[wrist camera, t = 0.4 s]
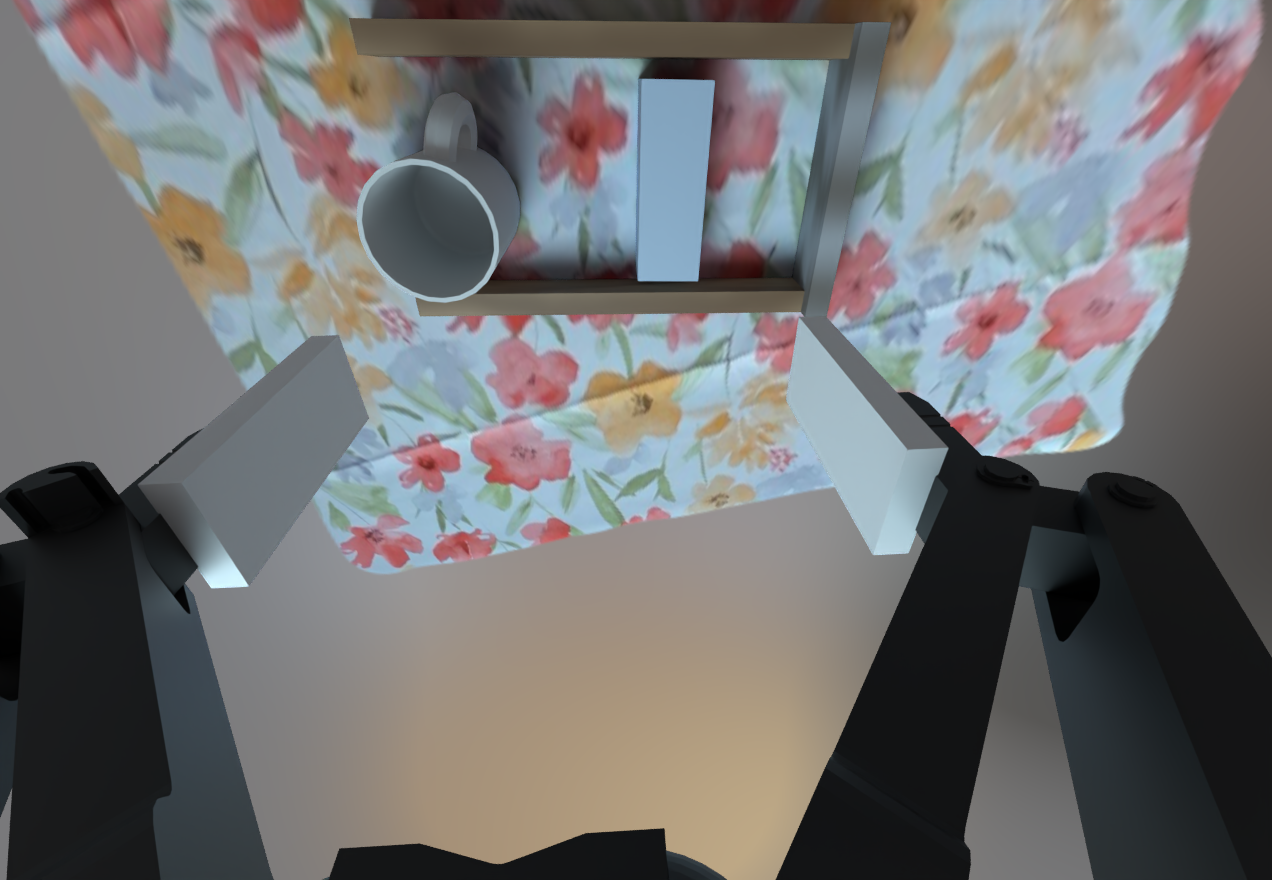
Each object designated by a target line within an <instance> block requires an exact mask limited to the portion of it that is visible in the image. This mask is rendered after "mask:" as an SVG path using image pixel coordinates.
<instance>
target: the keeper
mask: <svg viewBox="0 0 1272 880" xmlns="http://www.w3.org/2000/svg"><path fill="white" fill-rule="evenodd" d="M714 86H715V80H675V79H638V135H637V198H636V261H635V265H636V272H637V279H638V281H698V276H699V264H700V252H701V241H702V229H703V217H704V205H705V193H706V181H707V169H708V157H709V145H710V134H711V122H712V110H713V98H714Z"/></svg>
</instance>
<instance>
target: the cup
mask: <svg viewBox="0 0 1272 880" xmlns="http://www.w3.org/2000/svg"><path fill="white" fill-rule="evenodd" d="M519 219H520V201H519V197H518V194H517V190H516V186H515V185H514V183H513V181H512V179H511V177H510V175H509V173H508V172H507V171H506V169H505V168H504V167H503V166H502V165H501V164H500V163H499V161H498V160H497V159H495V158H494V157H493V156H491V155H490V154H488V153H487V152H486V151H484V150H482V149H480V148H477V124H476V119H475V115H474V111H473V108H472V105H471V103H470V102H468V101H467V100H466V99H465V98H463V97H462V96H461V95H460V94H458V93H457V92H453V93H447V94H443V95H440V96H439V97H438V98H436V99H435V101H434V103H433V105H432V107H431V110H430V112H429V115H428V118H427V122H426V126H425V131H424V143H423V150H422V151H420V152H417V153H415V154H412V155H409V156H407V157H404V158H401V159H399V160H396V161H394V162H391V163H390V164H388V165H386V166H384V167H383V168H381V169H379V170H377V171H376V172H375V173H374V174H373V176H372V177H371V178H370V179H369V180H368V181H367V182H366V184H365V185H364V188H363V190H362V193H361V195H360V198H359V200H358V208H357V225H358V230H359V236H360V240H361V242H362V244H363V247H364V249H365V251H366V253H367V256H368V257H369V259H370V260H371V262H372V263H373V264H374V266H375V267H376V268H377V270H378V271H379V272H380V273H381V274H382V275H383V276H384V277H385V278H386V279H387V280H388V281H389V282H391V283H392V284H393V285H394V286H395V287H397V288H399V289H400V290H402V291H404V292H406V293H407V294H409V295H411V296H414V297H417V298H420V299H423V300H426V301H431V302H444V303H446V302H452V301H458V300H462V299H464V298H466V297H468V296H470V295H472V294H474V293H476V292H477V291H478V290H479V289H480V288H482V287H483V286H484V285H485V284H486V283H487V282H488V280H489V278H490V277H491V275H492V273H493V272H494V270H495V268H496V267H497V265H498V263H499V262H500V260H501V258H502V257H503V255H504V253H505V252H506V250H507V248H508V247H509V245H510V243H511V241H512V239H513V238H514V236H515V234H516V231H517V227H518V223H519Z"/></svg>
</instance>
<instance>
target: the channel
mask: <svg viewBox="0 0 1272 880" xmlns="http://www.w3.org/2000/svg"><path fill="white" fill-rule="evenodd" d="M349 20H350V24H351V28H352V33H353V37H354V41H355V45H356V49H357V54H358V55H368V56H378V57H504V58H632V59H759V60H830V62H829V67H828V73H827V79H826V85H825V91H824V96H823V102H822V108H821V114H820V119H819V125H818V131H817V137H816V142H815V148H814V154H813V160H812V166H811V171H810V177H809V183H808V189H807V194H806V200H805V206H804V212H803V218H802V223H801V229H800V235H799V241H798V246H797V252H796V258H795V264H794V269H793V275H792V278H698V281H638V279H569V280H488V282H487V283H486V284H485V285H484V286H483V287H482V288H480V289H479V290H478V291H477V292H476V293H474V294H472V295H470V296H468V297H466V298H464V299H462V300H458V301H452V302H446V303H444V302H431V301H426V300H423V299H420V298H417V297H415V298H416V302H417V306H418V310H419V315H420V316H488V315H577V314H666V313H754V312H801V313H802V314H803V315H804V317H816V316H826V317H827V312H828V308H829V303H830V299H831V294H832V289H833V285H834V280H835V276H836V271H837V267H838V262H839V258H840V253H841V248H842V244H843V239H844V235H845V230H846V226H847V221H848V217H849V212H850V207H851V203H852V198H853V194H854V189H855V185H856V180H857V176H858V171H859V166H860V162H861V157H862V153H863V148H864V144H865V139H866V135H867V130H868V126H869V121H870V116H871V112H872V107H873V103H874V98H875V94H876V89H877V85H878V80H879V75H880V71H881V66H882V62H883V57H884V53H885V48H886V44H887V39H888V34H889V30H890V25H891V22H861V23H856V24H836V23H742V22H648V21H554V20H460V19H366V18H349Z"/></svg>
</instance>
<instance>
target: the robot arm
mask: <svg viewBox="0 0 1272 880" xmlns="http://www.w3.org/2000/svg"><path fill="white" fill-rule="evenodd" d="M786 401H787V403H788V405H789V406H790V408H791V410H792V412H793V414H794V415H795V417H796V419H797V421H798V422H799V424H800V426H801V428H802V430H803V431H804V433H805V435H806V437H807V438H808V440H809V442H810V444H811V446H812V447H813V449H814V451H815V453H816V454H817V456H818V458H819V460H820V462H821V463H822V465H823V467H824V469H825V470H826V472H827V474H828V476H829V478H830V479H831V481H832V483H833V485H834V486H835V488H836V490H837V492H838V493H839V495H840V497H841V499H842V501H843V502H844V504H845V506H846V508H847V509H848V511H849V513H850V515H851V517H852V518H853V520H854V522H855V524H856V525H857V527H858V529H859V531H860V533H861V534H862V536H863V538H864V540H865V541H866V543H867V545H868V546H869V549H870V550H871V552H872V554H873V555H883V554H903V553H909V550H910V548H911V545H912V543H913V540H914V537H915V535H916V532H917V533H918V535H919V536H920V537H921V539H922V541H923V542H924V543H925V545H924V547H923V549H922V551H921V554H920V556H919V558H918V561H917V563H916V565H915V567H914V570H913V572H912V574H911V577H910V579H909V581H908V584H907V586H906V588H905V590H904V593H903V595H902V597H901V599H900V602H899V604H898V606H897V608H896V611H895V613H894V615H893V618H892V620H891V622H890V625H889V627H888V629H887V631H886V634H885V636H884V638H883V640H882V643H881V645H880V647H879V650H878V652H877V654H876V656H875V659H874V661H873V663H872V665H871V668H870V670H869V672H868V675H867V677H866V679H865V682H864V684H863V686H862V688H861V691H860V693H859V695H858V697H857V700H856V702H855V704H854V707H853V709H852V711H851V713H850V716H849V718H848V720H847V723H846V725H845V727H844V729H843V732H842V734H841V736H840V739H839V741H838V743H837V745H836V748H835V750H834V752H833V754H832V756H831V757H830V759H829V761H828V763H827V765H826V767H825V769H824V771H823V774H822V776H821V778H820V781H819V783H818V785H817V787H816V790H815V792H814V794H813V796H812V798H811V801H810V803H809V805H808V808H807V810H806V812H805V814H804V817H803V819H802V821H801V823H800V826H799V828H798V830H797V833H796V835H795V837H794V840H793V842H792V844H791V846H790V849H789V851H788V853H787V855H786V857H785V860H784V862H783V865H782V867H781V869H780V871H779V873H778V876H777V878H776V880H968V879H969V872H970V866H971V862H970V861H971V859H970V849H969V848H968V847H967V845H966V844H965V843H964V833H965V827H966V822H967V817H968V813H969V808H970V803H971V799H972V795H973V790H974V786H975V781H976V777H977V772H978V768H979V763H980V759H981V754H982V750H983V745H984V741H985V736H986V731H987V727H988V722H989V718H990V713H991V709H992V705H993V700H994V695H995V691H996V686H997V682H998V678H999V673H1000V668H1001V664H1002V659H1003V655H1004V650H1005V646H1006V641H1007V637H1008V632H1009V628H1010V623H1011V618H1012V614H1013V610H1014V605H1015V601H1016V596H1017V592H1018V587H1019V586H1021V587H1026V588H1031V590H1032V595H1033V599H1034V604H1035V609H1036V613H1037V618H1038V622H1039V627H1040V632H1041V637H1042V641H1043V646H1044V651H1045V655H1046V659H1047V664H1048V669H1049V674H1050V679H1051V683H1052V688H1053V692H1054V697H1055V702H1056V706H1057V711H1058V716H1059V720H1060V725H1061V730H1062V734H1063V739H1064V744H1065V748H1066V753H1067V758H1068V762H1069V767H1070V771H1071V776H1072V780H1073V785H1074V790H1075V794H1076V799H1077V804H1078V809H1079V813H1080V818H1081V822H1082V827H1083V832H1084V837H1085V841H1086V846H1087V850H1088V855H1089V859H1090V864H1091V869H1092V874H1093V878H1094V880H1272V657H1271V656H1270V654H1269V652H1268V651H1267V649H1266V647H1265V646H1264V644H1263V642H1262V641H1261V639H1260V637H1259V636H1258V634H1257V632H1256V631H1255V629H1254V627H1253V626H1252V624H1251V622H1250V621H1249V619H1248V618H1247V616H1246V614H1245V612H1244V611H1243V609H1242V608H1241V606H1240V604H1239V602H1238V601H1237V599H1236V597H1235V596H1234V594H1233V592H1232V591H1231V589H1230V587H1229V586H1228V584H1227V582H1226V581H1225V579H1224V577H1223V576H1222V574H1221V573H1220V571H1219V569H1218V568H1217V566H1216V564H1215V563H1214V561H1213V560H1212V558H1211V556H1210V554H1209V553H1208V551H1207V549H1206V548H1205V546H1204V544H1203V543H1202V541H1201V539H1200V538H1199V536H1198V535H1197V533H1196V531H1195V529H1194V528H1193V526H1192V524H1191V523H1190V521H1189V520H1188V518H1187V516H1186V514H1185V513H1184V511H1183V509H1182V508H1181V506H1180V504H1179V503H1178V502H1177V501H1176V500H1175V499H1174V498H1173V497H1172V496H1171V495H1170V494H1168V493H1167V492H1165V491H1164V490H1162V489H1161V488H1159V487H1158V486H1157V485H1155V484H1153V483H1151V482H1149V481H1145V480H1144V479H1141V478H1138V477H1135V476H1133V477H1132V476H1128V475H1124V474H1120V473H1110V472H1103V473H1096V474H1093V475H1092V476H1090V477H1089V478H1087V480H1086V482H1085V484H1084V485H1083V487H1082V489H1081V490H1080V492H1078V491H1071V490H1063V489H1057V488H1051V487H1044V486H1040V485H1039V481H1038V480H1037V479H1036V477H1035V476H1034V475H1033V474H1032V473H1031V472H1030V471H1028V470H1026V469H1025V468H1023V467H1022V466H1020V465H1018V464H1015V463H1013V462H1011V461H1008V460H1006V459H1002V458H997V457H993V456H982V455H981V454H980V453H979V452H978V451H977V450H976V449H975V448H974V447H973V446H972V445H971V444H970V443H969V442H968V441H967V440H966V439H965V438H964V437H963V436H962V435H961V434H960V433H959V432H958V431H957V430H956V429H954V428H953V427H950V424H949V423H948V422H947V421H946V420H945V419H944V418H943V417H940V414H939V413H938V412H937V411H936V410H935V409H934V408H933V407H932V406H931V405H930V404H929V403H928V402H927V401H925V400H923V399H921V398H919V397H917V396H916V395H914V394H912V393H910V392H901V393H897V392H896V391H895V390H894V389H893V388H892V387H891V386H890V385H889V384H888V383H887V382H886V380H885V379H884V378H883V377H882V376H881V375H880V374H879V373H878V372H877V371H876V370H875V369H874V368H873V367H872V365H871V364H870V363H869V362H868V361H867V360H866V359H865V358H864V357H863V356H862V355H861V354H860V353H859V352H858V351H857V349H856V348H855V347H854V346H853V345H852V344H851V343H850V342H849V341H848V340H847V339H846V338H845V337H844V336H843V334H842V333H841V332H840V331H839V330H838V329H837V328H836V327H835V326H834V325H833V324H832V323H831V322H830V321H829V319H828V318H827V317H826V316H816V317H799V321H798V327H797V333H796V340H795V346H794V353H793V359H792V365H791V372H790V378H789V384H788V391H787V397H786ZM368 419H369V417H368V414H367V411H366V409H365V406H364V403H363V400H362V398H361V395H360V392H359V389H358V387H357V384H356V381H355V378H354V376H353V373H352V370H351V367H350V365H349V362H348V359H347V356H346V354H345V351H344V348H343V345H342V343H341V340H340V337H339V335H334V336H311V337H310V338H309V339H308V340H307V341H305V342H304V343H303V344H302V345H301V346H300V347H298V348H297V349H296V350H295V351H294V352H292V353H291V354H290V355H289V356H288V357H287V358H285V359H284V360H283V361H282V362H281V363H280V364H278V365H277V366H276V367H275V368H274V369H273V370H271V371H270V372H269V373H268V374H267V375H266V376H264V377H263V378H262V379H261V380H260V381H259V382H257V383H256V384H255V385H254V386H253V387H251V388H250V389H249V390H248V391H247V392H246V393H244V394H243V395H242V396H241V397H240V398H239V399H237V400H236V401H235V402H234V403H233V404H232V405H231V406H229V407H228V408H227V409H226V410H225V411H223V412H222V413H221V414H220V415H219V416H218V417H216V418H215V419H214V420H213V421H212V422H211V423H209V424H208V425H207V426H206V427H205V428H203V429H201V430H199V431H197V432H195V433H193V434H192V435H190V436H188V437H187V438H186V439H185V440H184V441H182V442H181V443H180V444H179V445H177V446H176V447H175V448H174V449H173V450H172V453H168V454H167V455H166V456H164V457H163V458H162V459H161V460H160V461H159V464H155V465H154V466H152V467H151V468H150V469H149V470H148V471H147V472H145V473H144V474H143V475H142V476H141V477H139V478H138V479H137V480H136V481H135V482H133V483H132V484H131V485H130V486H129V487H127V488H126V489H125V490H124V491H123V492H122V493H120V494H119V495H118V494H117V492H116V491H115V490H114V488H113V487H112V486H111V484H110V483H109V482H108V480H107V479H106V478H105V476H104V475H103V474H102V472H101V471H100V470H99V469H98V467H97V466H96V465H95V464H94V463H90V462H84V461H81V462H72V463H65V464H61V465H57V466H54V467H49V468H46V469H44V470H41V471H39V472H36V473H33V474H31V475H28V476H26V477H25V478H23V479H21V480H19V481H17V482H15V483H13V484H12V485H10V486H9V487H8V488H6V489H5V490H4V491H2V492H1V493H0V508H1V509H2V510H3V511H4V512H5V513H6V514H7V516H8V517H9V518H10V519H11V520H12V521H13V522H14V523H15V524H16V525H17V526H18V527H19V528H20V529H21V530H22V532H23V533H24V534H25V535H26V536H27V537H28V539H24V540H20V541H15V542H11V543H7V544H2V545H0V817H1V814H2V812H3V809H4V806H5V804H6V802H7V799H8V796H9V794H10V791H11V789H12V803H11V817H10V834H9V849H8V866H7V880H274V879H273V876H272V873H271V871H270V867H269V864H268V860H267V857H266V853H265V849H264V846H263V842H262V839H261V835H260V832H259V828H258V824H257V821H256V817H255V813H254V810H253V806H252V803H251V799H250V795H249V792H248V789H247V785H246V781H245V778H244V774H243V770H242V767H241V763H240V759H239V756H238V753H237V749H236V745H235V741H234V738H233V734H232V731H231V727H230V723H229V720H228V716H227V713H226V709H225V705H224V702H223V698H222V695H221V691H220V688H219V684H218V680H217V677H216V674H215V669H214V666H213V663H212V659H211V655H210V652H209V648H208V644H207V641H206V637H205V634H204V630H203V626H202V623H201V619H200V616H199V612H198V608H197V605H196V601H195V598H194V595H193V593H192V592H191V591H190V590H189V588H188V587H187V586H186V584H185V582H186V581H187V580H188V579H189V577H190V576H191V575H192V574H193V573H194V571H195V570H196V569H198V570H199V571H200V573H201V574H202V576H203V577H204V578H205V580H206V581H207V583H208V584H209V585H210V587H211V588H228V587H245V586H246V587H248V586H250V584H251V583H252V582H253V580H254V579H255V577H256V576H257V575H258V573H259V572H260V570H261V569H262V568H263V566H264V565H265V563H266V562H267V560H268V559H269V558H270V556H271V555H272V554H273V552H274V551H275V549H276V548H277V547H278V545H279V544H280V542H281V541H282V539H283V538H284V537H285V535H286V534H287V532H288V531H289V530H290V528H291V527H292V525H293V524H294V523H295V521H296V520H297V518H298V517H299V515H300V514H301V513H302V511H303V510H304V509H305V507H306V506H307V504H308V503H309V502H310V500H311V499H312V497H313V496H314V495H315V493H316V492H317V490H318V489H319V488H320V486H321V485H322V483H323V482H324V481H325V479H326V478H327V476H328V475H329V474H330V472H331V471H332V469H333V468H334V467H335V465H336V464H337V462H338V461H339V460H340V458H341V457H342V455H343V454H344V453H345V451H346V450H347V448H348V447H349V446H350V444H351V443H352V441H353V440H354V439H355V437H356V436H357V434H358V433H359V431H360V430H361V429H362V427H363V426H364V424H365V423H366V422H367V420H368ZM323 880H727V879H725V878H724V877H723V876H722V875H720V874H719V873H717V872H715V871H714V870H712V869H710V868H709V867H707V866H706V865H704V864H702V863H700V862H698V861H695V860H693V859H691V858H688V857H686V856H684V855H680V854H677V853H673V852H670V851H666V843H665V830H664V828H663V829H648V830H632V831H631V830H630V831H614V832H599V833H585V834H582V835H580V836H577V837H574V838H572V839H569V840H566V841H564V842H561V843H558V844H556V845H553V846H551V847H548V848H545V849H542V850H540V851H537V852H534V853H532V854H529V855H526V856H524V857H521V858H518V859H516V860H513V861H510V862H507V863H504V864H492V863H488V862H484V861H481V860H477V859H474V858H470V857H466V856H462V855H459V854H456V853H452V852H448V851H445V850H441V849H437V848H433V847H430V846H427V845H423V844H405V845H391V846H373V847H357V848H341V849H339V851H338V854H337V857H336V860H335V863H334V866H333V869H332V872H331V874H330V877H328V878H325V879H323Z"/></svg>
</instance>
